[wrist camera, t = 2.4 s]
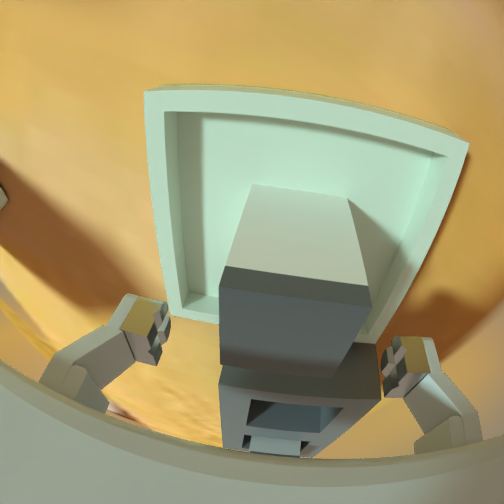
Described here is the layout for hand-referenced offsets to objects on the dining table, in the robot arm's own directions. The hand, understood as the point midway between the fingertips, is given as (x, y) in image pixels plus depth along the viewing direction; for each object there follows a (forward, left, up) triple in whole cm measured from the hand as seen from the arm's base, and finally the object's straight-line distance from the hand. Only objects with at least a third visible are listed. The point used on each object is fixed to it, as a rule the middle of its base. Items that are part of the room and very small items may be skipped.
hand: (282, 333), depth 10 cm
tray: (-1, 0, -6) cm, 6 cm away
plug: (-1, 0, -5) cm, 5 cm away
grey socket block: (+14, +2, -6) cm, 15 cm away
